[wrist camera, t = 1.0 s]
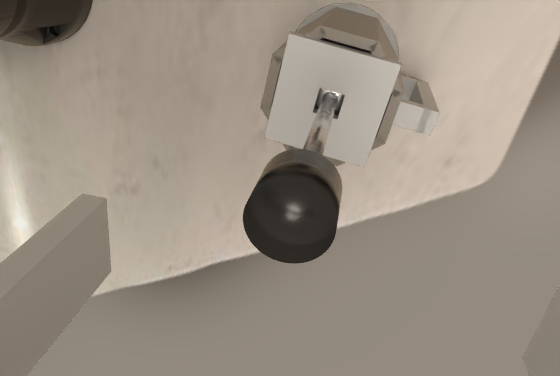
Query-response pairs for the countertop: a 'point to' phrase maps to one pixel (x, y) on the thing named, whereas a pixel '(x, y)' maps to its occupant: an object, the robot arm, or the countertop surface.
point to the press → (344, 84)
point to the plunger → (298, 195)
